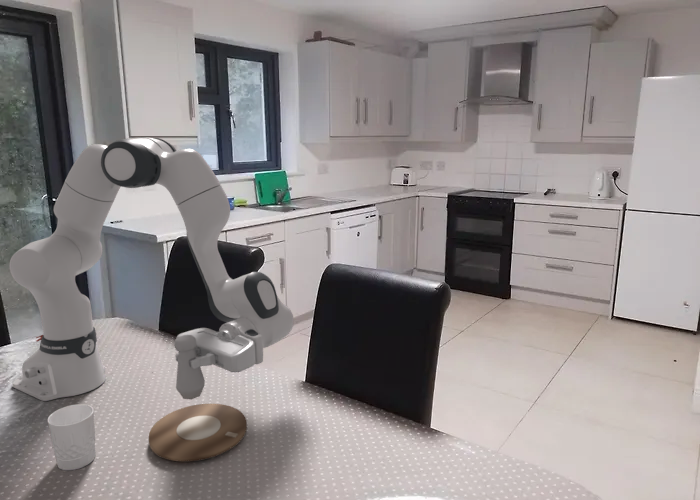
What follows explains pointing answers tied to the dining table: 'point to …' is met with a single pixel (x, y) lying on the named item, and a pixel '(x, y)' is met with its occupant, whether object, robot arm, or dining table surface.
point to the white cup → (73, 436)
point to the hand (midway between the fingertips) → (184, 361)
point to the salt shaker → (188, 369)
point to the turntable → (197, 432)
